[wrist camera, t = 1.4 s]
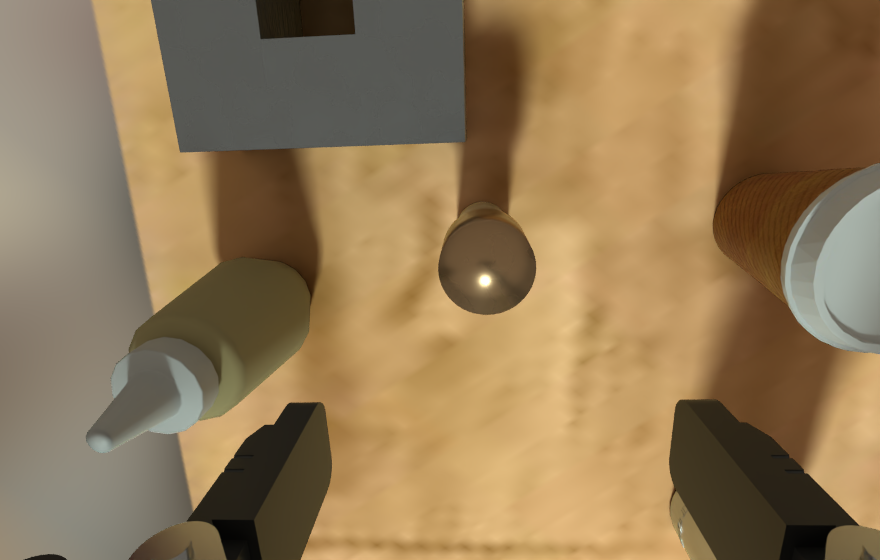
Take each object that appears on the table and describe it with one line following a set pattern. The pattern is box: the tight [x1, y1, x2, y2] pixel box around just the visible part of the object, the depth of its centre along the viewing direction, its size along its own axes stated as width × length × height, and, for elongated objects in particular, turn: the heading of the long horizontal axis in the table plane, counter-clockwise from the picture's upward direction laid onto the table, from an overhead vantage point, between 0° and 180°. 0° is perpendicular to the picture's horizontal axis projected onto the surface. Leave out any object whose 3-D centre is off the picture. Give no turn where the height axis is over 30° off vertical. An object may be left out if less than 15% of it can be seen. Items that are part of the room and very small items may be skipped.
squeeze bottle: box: [86, 257, 310, 453], centre depth 28 cm, size 8×8×18 cm
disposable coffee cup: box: [713, 163, 880, 354], centre depth 27 cm, size 10×10×12 cm
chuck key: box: [438, 202, 536, 315], centre depth 29 cm, size 5×5×11 cm
